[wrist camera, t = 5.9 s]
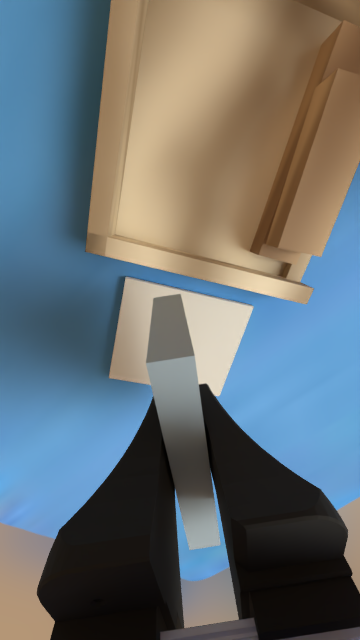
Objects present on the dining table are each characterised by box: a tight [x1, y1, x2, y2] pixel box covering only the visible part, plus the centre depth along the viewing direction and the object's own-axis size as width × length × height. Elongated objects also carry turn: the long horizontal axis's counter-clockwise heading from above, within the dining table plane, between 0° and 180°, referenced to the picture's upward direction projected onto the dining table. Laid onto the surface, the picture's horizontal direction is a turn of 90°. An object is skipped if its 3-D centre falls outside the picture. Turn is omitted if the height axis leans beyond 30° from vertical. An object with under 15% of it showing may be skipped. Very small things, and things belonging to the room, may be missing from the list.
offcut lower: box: [250, 20, 360, 265], centre depth 13 cm, size 2×10×2 cm, turn 166°
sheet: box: [146, 294, 220, 550], centre depth 12 cm, size 1×10×6 cm, turn 8°
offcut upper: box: [266, 68, 360, 257], centre depth 12 cm, size 2×7×2 cm, turn 169°
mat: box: [109, 276, 253, 396], centre depth 18 cm, size 9×8×1 cm
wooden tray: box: [85, 0, 360, 304], centre depth 12 cm, size 13×14×3 cm
